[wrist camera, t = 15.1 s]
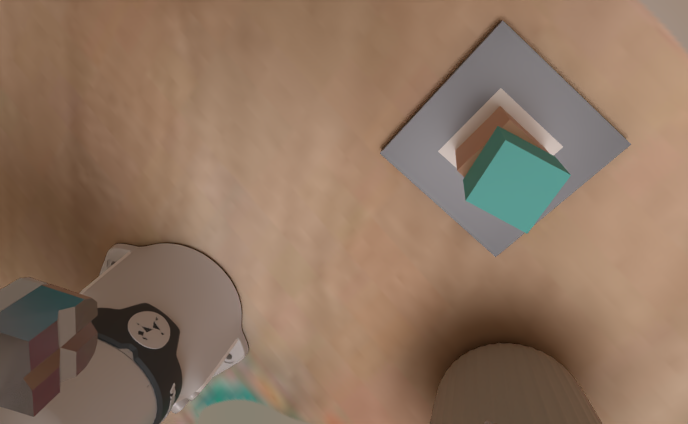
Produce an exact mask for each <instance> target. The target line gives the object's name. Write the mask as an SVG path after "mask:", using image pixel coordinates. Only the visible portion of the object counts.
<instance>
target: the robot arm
mask: <svg viewBox="0 0 688 424" xmlns="http://www.w3.org/2000/svg"><path fill="white" fill-rule="evenodd" d="M241 320H242V310H241V304H240V300H239V296H238V294H237V291H236V289H235V287H234V285H233V283H232V282H231V280H230V279H229V277H228V276H227V275H226V273H225V272H224V271H223V270H222V269H221V268H220V267H219V266H218V265H217V264H216V263H215V262H213V261H212V260H211V259H209V258H208V257H207V256H205V255H203V254H202V253H200V252H198V251H196V250H194V249H191V248H189V247H185V246H182V245H177V244H169V243H162V244H154V245H149V246H144V247H137V246H133V245H128V244H115V245H114V246H113V247H112V248H110V249H109V251H108V252H107V255H106V258H105V260H104V263H103V266H102V269H101V271H100V274H99V276H98V277H97V278H96V279H95V280H94V281H92V282H91V283H90V284H89V285H88V286H86V287H85V288H84V289H83V290H82V291H81V292H80V293H76V292H73V291H70V290H67V289H64V288H61V287H59V286H56V285H53V284H48V283H45V282H42V281H39V280H36V279H33V278H31V277H25V278H19V279H18V280H16V281H14V282H12V283H11V284H9V285H7V286H6V287H4V288H2V289H0V424H160V423H161V422H162V421H163V420H164V419H165V418H166V416H167V415H168V414H169V412H170V411H172V412H173V413H175V414H176V413H178V412H179V411H180V410H181V409H182V408H184V406H185V405H186V404H187V403H188V402H189V400H190V401H192V400H193V399H195V398H196V397H197V395H198V394H199V393H200V392H201V391H202V390H203V389H204V387H205V386H206V385H207V383H208V382H209V381H210V379H211V378H213V377H215V376H216V375H218V374H220V373H221V372H223V371H225V370H226V369H228V368H230V367H231V366H233V365H235V364H236V363H238V362H240V361H241V360H242V359H243V358H244V357H245V356H246V355H247V353H248V344H247V341H246V339H245V336H244V334H243V332H242V327H241ZM229 354H231V355H229ZM484 424H496V423H493V422H490V421H485V423H484Z"/></svg>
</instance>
